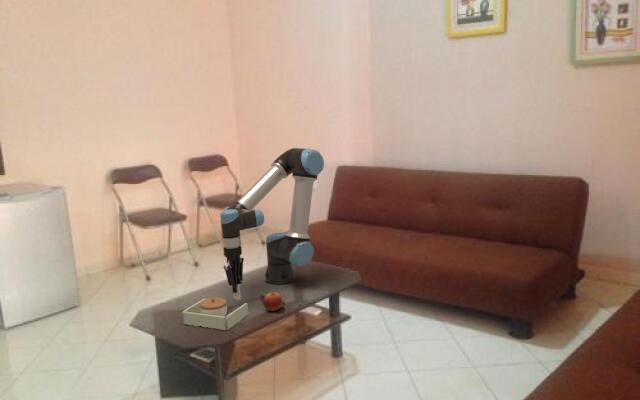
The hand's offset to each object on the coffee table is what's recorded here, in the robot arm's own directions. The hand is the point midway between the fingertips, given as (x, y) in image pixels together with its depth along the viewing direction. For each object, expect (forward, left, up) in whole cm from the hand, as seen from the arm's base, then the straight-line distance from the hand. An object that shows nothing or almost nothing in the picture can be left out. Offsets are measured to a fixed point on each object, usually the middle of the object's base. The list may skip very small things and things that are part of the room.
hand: (237, 298), depth 231 cm
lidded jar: (+18, 0, -3) cm, 18 cm away
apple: (+1, +18, -3) cm, 18 cm away
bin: (+17, 0, -3) cm, 17 cm away
